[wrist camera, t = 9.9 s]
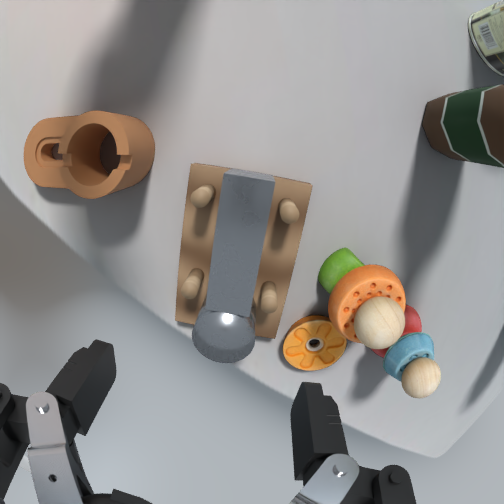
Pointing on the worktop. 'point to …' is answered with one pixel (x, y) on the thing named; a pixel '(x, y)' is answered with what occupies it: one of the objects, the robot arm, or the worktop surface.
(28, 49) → the worktop surface
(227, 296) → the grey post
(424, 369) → the wooden stacking toy
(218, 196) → the rack
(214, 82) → the worktop surface
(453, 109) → the beer bottle
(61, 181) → the bracket
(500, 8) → the coffee can
